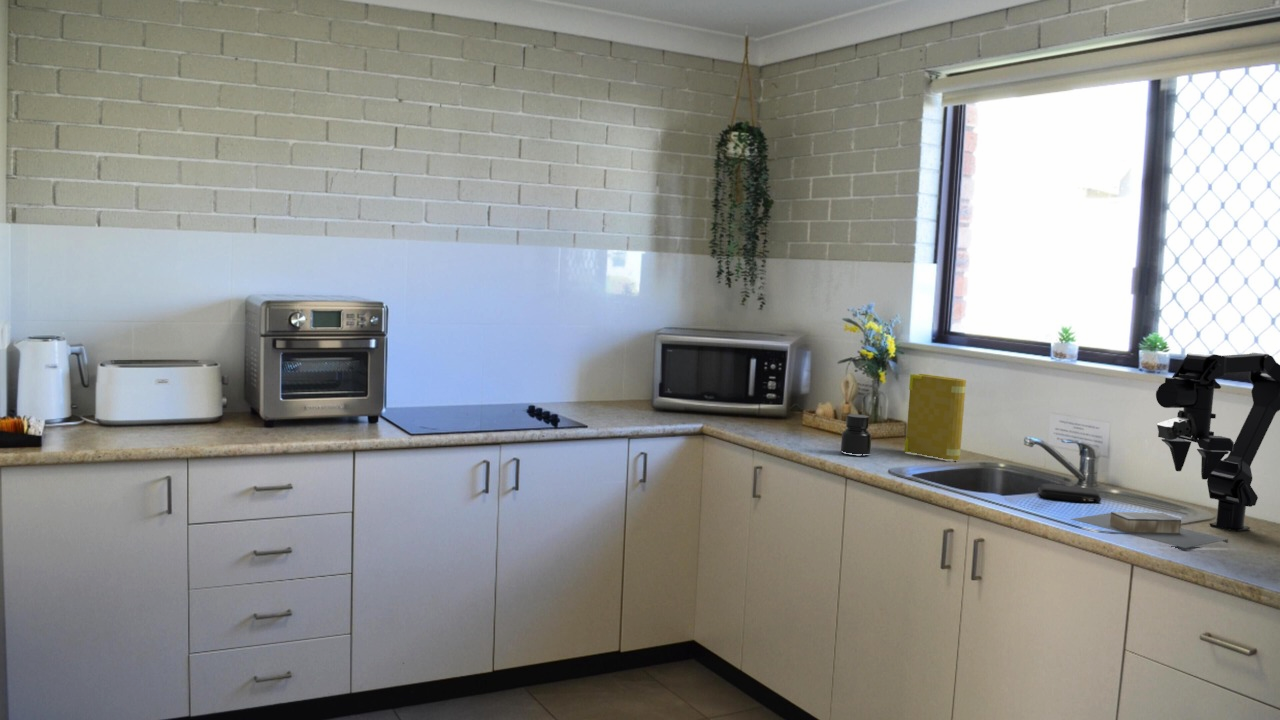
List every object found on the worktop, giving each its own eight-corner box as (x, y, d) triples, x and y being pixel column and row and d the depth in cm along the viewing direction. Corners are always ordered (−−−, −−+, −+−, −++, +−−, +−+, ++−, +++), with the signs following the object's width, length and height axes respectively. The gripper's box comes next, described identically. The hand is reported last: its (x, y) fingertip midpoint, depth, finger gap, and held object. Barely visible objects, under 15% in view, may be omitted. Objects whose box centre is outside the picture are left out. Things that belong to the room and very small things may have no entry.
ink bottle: (876, 455, 322) (879, 417, 321) (861, 458, 316) (864, 419, 315) (849, 450, 329) (852, 412, 328) (833, 453, 322) (836, 414, 321)
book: (904, 453, 329) (910, 374, 327) (916, 451, 333) (922, 373, 331) (951, 462, 316) (958, 380, 314) (963, 460, 321) (970, 379, 319)
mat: (1114, 514, 255) (1114, 512, 255) (1227, 541, 233) (1228, 539, 232) (1070, 521, 244) (1070, 519, 244) (1184, 550, 222) (1185, 547, 222)
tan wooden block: (1163, 513, 242) (1111, 511, 240) (1181, 519, 236) (1127, 518, 234) (1161, 525, 242) (1109, 524, 241) (1179, 532, 236) (1126, 531, 234)
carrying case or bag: (1039, 500, 269) (1101, 507, 264) (1040, 489, 268) (1102, 495, 264) (1037, 492, 279) (1097, 499, 274) (1038, 481, 278) (1098, 487, 274)
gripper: (1140, 401, 247) (1134, 466, 248) (1191, 412, 228) (1184, 482, 230) (1183, 402, 248) (1177, 467, 250) (1238, 414, 230) (1231, 484, 231)
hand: (1191, 475), depth 240 cm, fingers open, 9 cm apart
